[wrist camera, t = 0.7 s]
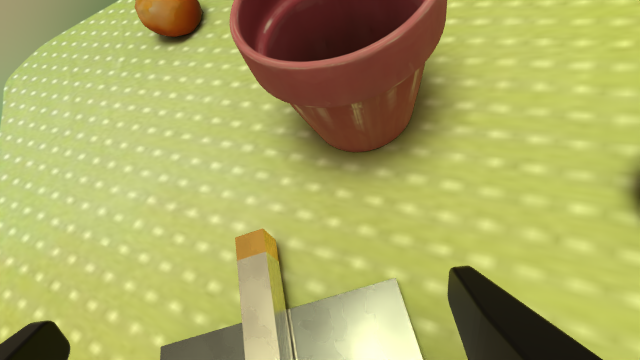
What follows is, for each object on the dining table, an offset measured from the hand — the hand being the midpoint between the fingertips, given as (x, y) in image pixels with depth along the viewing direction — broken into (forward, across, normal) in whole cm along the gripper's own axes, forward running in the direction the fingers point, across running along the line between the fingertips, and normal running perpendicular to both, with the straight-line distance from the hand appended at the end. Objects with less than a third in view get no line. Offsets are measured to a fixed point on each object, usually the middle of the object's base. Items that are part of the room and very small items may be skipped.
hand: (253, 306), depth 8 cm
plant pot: (+26, -6, +5) cm, 27 cm away
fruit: (+49, +15, -3) cm, 51 cm away
